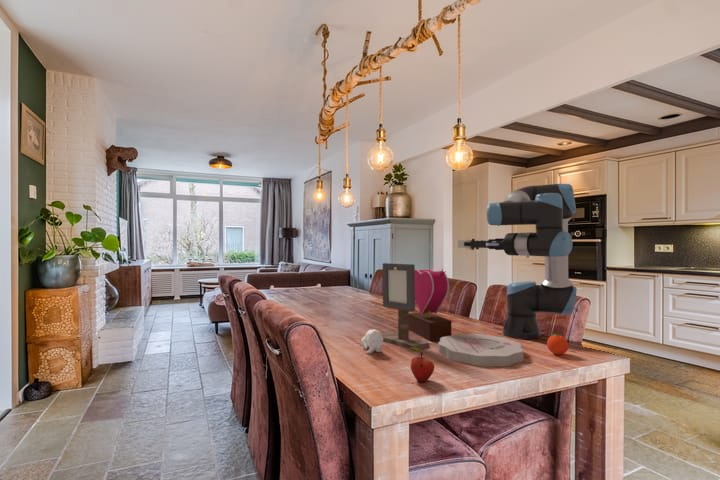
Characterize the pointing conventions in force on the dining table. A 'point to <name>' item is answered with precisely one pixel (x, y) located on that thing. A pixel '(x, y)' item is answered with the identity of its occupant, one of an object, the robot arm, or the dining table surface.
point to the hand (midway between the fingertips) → (459, 244)
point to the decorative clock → (430, 305)
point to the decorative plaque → (480, 349)
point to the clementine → (557, 344)
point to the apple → (421, 367)
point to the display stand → (404, 334)
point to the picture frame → (399, 286)
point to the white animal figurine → (372, 341)
